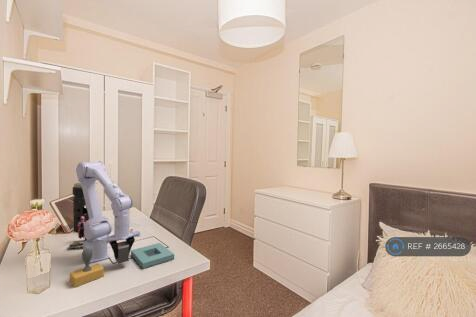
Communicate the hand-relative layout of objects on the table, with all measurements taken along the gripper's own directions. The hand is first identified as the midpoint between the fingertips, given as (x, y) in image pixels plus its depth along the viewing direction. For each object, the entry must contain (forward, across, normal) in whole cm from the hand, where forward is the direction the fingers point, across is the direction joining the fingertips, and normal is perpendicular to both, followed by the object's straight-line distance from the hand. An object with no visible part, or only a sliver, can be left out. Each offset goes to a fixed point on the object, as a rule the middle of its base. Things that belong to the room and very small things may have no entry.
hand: (121, 256), depth 101 cm
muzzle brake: (+5, -6, +60) cm, 60 cm away
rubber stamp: (+5, -13, -2) cm, 14 cm away
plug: (+2, 0, 0) cm, 2 cm away
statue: (+5, -10, +35) cm, 37 cm away
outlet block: (+4, +13, 0) cm, 14 cm away
